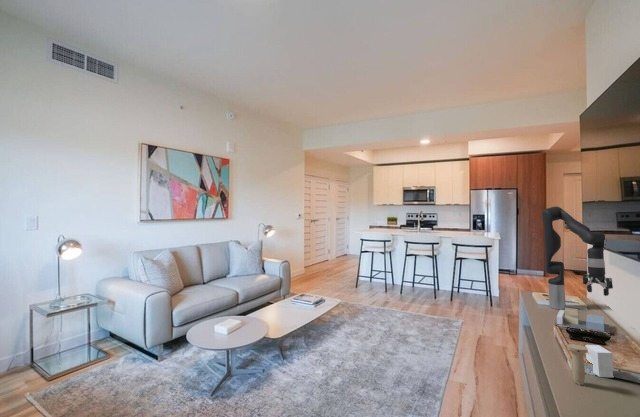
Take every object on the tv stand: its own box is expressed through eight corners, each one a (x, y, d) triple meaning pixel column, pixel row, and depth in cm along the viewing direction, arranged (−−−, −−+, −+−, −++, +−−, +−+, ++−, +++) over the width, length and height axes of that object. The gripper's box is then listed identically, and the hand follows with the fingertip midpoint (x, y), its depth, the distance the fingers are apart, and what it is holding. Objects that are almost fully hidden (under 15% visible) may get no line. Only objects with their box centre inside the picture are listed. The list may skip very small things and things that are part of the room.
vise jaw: (587, 320, 186) (587, 313, 186) (604, 323, 181) (604, 316, 181) (586, 328, 175) (586, 321, 175) (604, 331, 169) (603, 324, 170)
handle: (590, 388, 121) (588, 350, 121) (570, 384, 124) (568, 347, 124) (588, 382, 125) (586, 346, 125) (568, 378, 128) (566, 343, 129)
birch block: (566, 320, 189) (565, 307, 189) (578, 322, 185) (578, 309, 185) (565, 322, 186) (564, 309, 186) (578, 324, 182) (577, 311, 182)
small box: (614, 378, 127) (613, 353, 128) (598, 377, 129) (597, 352, 129) (600, 368, 135) (599, 344, 135) (586, 367, 136) (585, 344, 137)
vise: (558, 318, 196) (557, 309, 196) (609, 327, 180) (608, 317, 180) (555, 325, 185) (554, 316, 185) (609, 335, 168) (608, 325, 168)
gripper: (578, 264, 183) (580, 291, 183) (604, 268, 169) (606, 297, 169) (588, 264, 185) (589, 290, 184) (615, 267, 171) (616, 296, 170)
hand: (597, 293), depth 177 cm, fingers open, 8 cm apart
